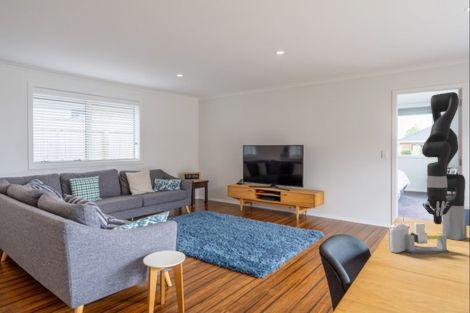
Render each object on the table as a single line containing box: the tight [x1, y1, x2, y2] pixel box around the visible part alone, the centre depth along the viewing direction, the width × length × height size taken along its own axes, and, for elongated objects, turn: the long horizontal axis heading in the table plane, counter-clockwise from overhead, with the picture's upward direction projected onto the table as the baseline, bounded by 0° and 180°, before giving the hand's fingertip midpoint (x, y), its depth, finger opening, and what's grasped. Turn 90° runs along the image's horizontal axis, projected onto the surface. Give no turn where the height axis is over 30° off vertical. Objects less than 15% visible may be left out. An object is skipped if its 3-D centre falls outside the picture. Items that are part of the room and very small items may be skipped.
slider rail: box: [404, 232, 449, 255], centre depth 129 cm, size 17×5×8 cm, turn 93°
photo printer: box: [388, 222, 407, 254], centre depth 131 cm, size 10×4×12 cm, turn 124°
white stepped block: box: [411, 222, 428, 245], centre depth 129 cm, size 4×4×8 cm
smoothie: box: [402, 215, 411, 234], centre depth 139 cm, size 6×6×14 cm
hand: (437, 223), depth 130 cm, fingers closed
